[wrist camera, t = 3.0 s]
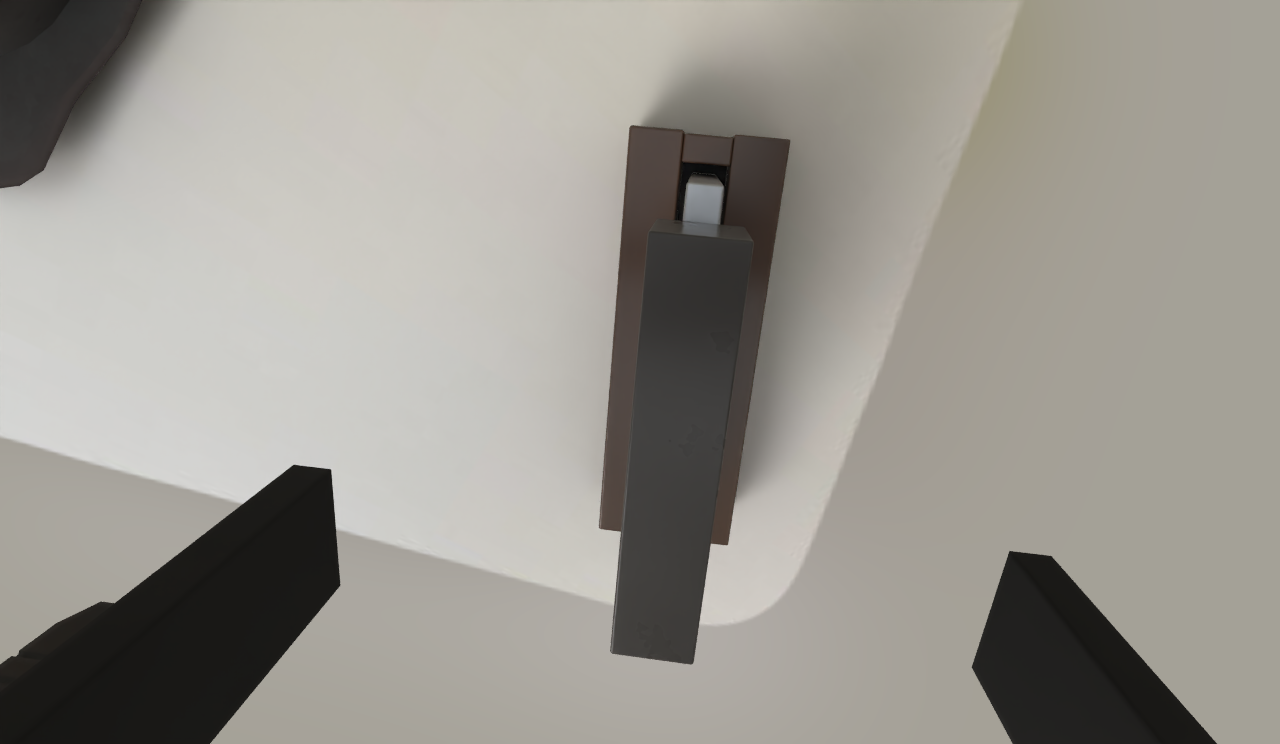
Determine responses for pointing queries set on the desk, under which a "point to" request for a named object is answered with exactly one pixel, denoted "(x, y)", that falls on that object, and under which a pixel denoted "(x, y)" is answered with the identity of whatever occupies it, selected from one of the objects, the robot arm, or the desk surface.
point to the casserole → (49, 72)
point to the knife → (679, 423)
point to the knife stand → (646, 199)
